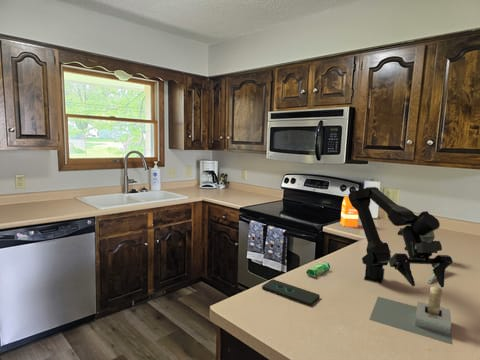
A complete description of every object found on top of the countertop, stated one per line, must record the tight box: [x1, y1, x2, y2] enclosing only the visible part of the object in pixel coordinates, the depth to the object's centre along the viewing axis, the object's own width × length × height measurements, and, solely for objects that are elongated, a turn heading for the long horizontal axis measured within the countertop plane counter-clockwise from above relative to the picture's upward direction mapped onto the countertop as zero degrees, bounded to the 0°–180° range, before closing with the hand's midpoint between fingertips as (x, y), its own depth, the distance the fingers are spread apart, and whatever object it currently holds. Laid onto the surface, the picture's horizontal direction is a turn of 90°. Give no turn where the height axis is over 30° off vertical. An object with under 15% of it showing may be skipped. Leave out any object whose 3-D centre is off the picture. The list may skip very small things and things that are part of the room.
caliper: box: [427, 272, 436, 285], centre depth 135 cm, size 20×1×6 cm, turn 135°
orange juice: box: [340, 196, 359, 228], centre depth 212 cm, size 8×9×20 cm
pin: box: [427, 286, 443, 316], centre depth 99 cm, size 3×3×12 cm
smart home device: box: [261, 278, 320, 307], centre depth 117 cm, size 8×2×20 cm
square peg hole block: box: [415, 300, 452, 336], centre depth 99 cm, size 9×9×4 cm
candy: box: [305, 262, 331, 278], centre depth 135 cm, size 12×3×4 cm
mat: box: [369, 296, 453, 345], centre depth 102 cm, size 22×18×1 cm
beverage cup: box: [421, 231, 436, 258], centre depth 155 cm, size 7×7×20 cm
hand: (428, 286), depth 102 cm, fingers open, 9 cm apart
